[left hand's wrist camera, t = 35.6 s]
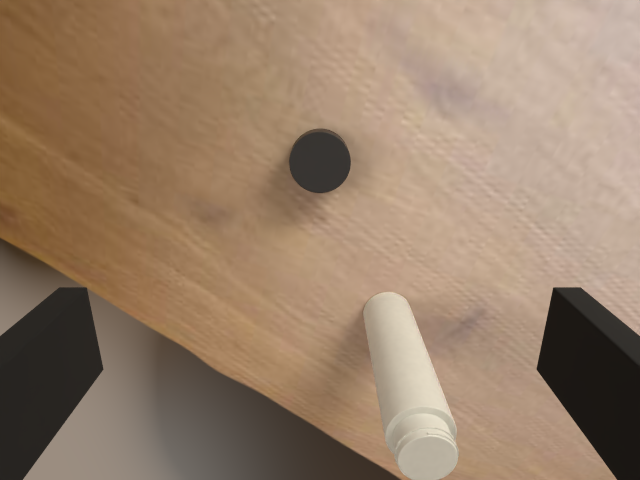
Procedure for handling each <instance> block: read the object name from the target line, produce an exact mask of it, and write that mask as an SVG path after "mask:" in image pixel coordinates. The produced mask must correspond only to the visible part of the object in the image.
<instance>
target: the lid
mask: <svg viewBox="0 0 640 480" xmlns="http://www.w3.org/2000/svg"><path fill="white" fill-rule="evenodd" d="M350 164H351V161H350V155H349V151H348V149H347V146H346V144H345V142H344V141H343V140H342V138H341V137H340V136H338V135H337V134H336V133H334V132H332V131H330V130H326V129H314V130H310V131H308V132H306V133H304V134H303V135H301V136H300V137H299V138H298V139H297V141H296V142H295V144H294V146H293V148H292V151H291V154H290V160H289V165H290V171H291V174H292V176H293V178H294V179H295V181H296V182H297V183H298V184H299V185H300V186H301V187H303V188H304V189H306V190H308V191H311V192H315V193H325V192H329V191H332V190H334V189H336V188H337V187H339V186H340V185H341V184H342V183H343V182H344V181H345V179H346V178H347V176H348V173H349V170H350Z"/></svg>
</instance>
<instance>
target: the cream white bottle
mask: <svg viewBox="0 0 640 480" xmlns="http://www.w3.org/2000/svg"><path fill="white" fill-rule="evenodd" d="M363 317H364V323H365V329H366V334H367V340H368V345H369V351H370V357H371V362H372V368H373V373H374V379H375V385H376V390H377V396H378V402H379V407H380V413H381V418H382V424H383V430H384V435H385V441H386V444H387V446H388V448H389V449H390V451H391V452H392V453H393V454H394V456H395V461H396V463H397V465H398V467H399V469H400V470H401V472H402V473H403V474H404V475H405V476H406V477H408V478H410V479H412V480H439V479H441V478H443V477H445V476H447V475H448V474H449V473H450V472H451V471H452V470H453V469H454V468H455V466H456V464H457V460H458V456H459V453H458V448H457V445H456V442H455V439H456V434H457V429H456V425H455V422H454V420H453V417H452V415H451V412H450V409H449V407H448V404H447V402H446V399H445V396H444V394H443V391H442V389H441V386H440V383H439V381H438V378H437V376H436V373H435V370H434V368H433V365H432V363H431V360H430V357H429V355H428V352H427V350H426V347H425V344H424V342H423V339H422V337H421V334H420V331H419V329H418V326H417V324H416V321H415V319H414V316H413V313H412V311H411V308H410V306H409V303H408V302H407V300H406V299H405V298H404V297H403V296H401V295H399V294H397V293H394V292H383V293H379V294H377V295H375V296H373V297H372V298H370V299H369V301H368V302H367V303H366V305H365V307H364V311H363Z"/></svg>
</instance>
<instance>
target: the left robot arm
mask: <svg viewBox="0 0 640 480" xmlns="http://www.w3.org/2000/svg"><path fill="white" fill-rule="evenodd" d="M102 370H103V365H102V360H101V355H100V351H99V346H98V341H97V336H96V331H95V326H94V321H93V316H92V311H91V307H90V302H89V297H88V292H87V288H58V289H57V290H56V291H55V292H53V293H52V294H51V295H50V296H49V297H47V298H46V299H45V300H44V301H42V302H41V303H40V304H39V305H38V306H36V307H35V308H34V309H33V310H31V311H30V312H29V313H28V314H27V315H25V316H24V317H23V318H22V319H21V320H19V321H18V322H17V323H16V324H15V325H13V326H12V327H11V328H10V329H8V330H7V331H6V332H5V333H4V334H2V335H1V336H0V480H23V479H24V477H25V476H26V474H27V473H28V472H29V470H30V469H31V468H32V466H33V465H34V463H35V462H36V461H37V459H38V458H39V457H40V455H41V454H42V453H43V451H44V450H45V448H46V447H47V446H48V444H49V443H50V442H51V440H52V439H53V437H54V436H55V435H56V433H57V432H58V431H59V429H60V428H61V427H62V425H63V424H64V423H65V421H66V420H67V418H68V417H69V416H70V414H71V413H72V412H73V410H74V409H75V407H76V406H77V405H78V403H79V402H80V401H81V399H82V398H83V396H84V395H85V394H86V392H87V391H88V390H89V388H90V387H91V386H92V384H93V383H94V381H95V380H96V379H97V377H98V376H99V375H100V373H101V372H102ZM537 371H538V372H539V373H540V375H541V376H542V377H543V379H544V380H545V381H546V383H547V384H548V386H549V387H550V388H551V390H552V391H553V392H554V394H555V395H556V397H557V398H558V399H559V401H560V402H561V403H562V405H563V406H564V407H565V409H566V410H567V412H568V413H569V414H570V416H571V417H572V418H573V420H574V421H575V423H576V424H577V425H578V427H579V428H580V429H581V431H582V432H583V433H584V435H585V436H586V438H587V439H588V440H589V442H590V443H591V444H592V446H593V447H594V448H595V450H596V451H597V453H598V454H599V455H600V457H601V458H602V459H603V461H604V462H605V464H606V465H607V466H608V468H609V469H610V470H611V472H612V473H613V474H614V476H615V477H616V479H617V480H640V336H639V335H638V334H636V333H635V332H634V331H633V330H632V329H630V328H629V327H628V326H627V325H626V324H624V323H623V322H622V321H621V320H619V319H618V318H617V317H616V316H615V315H613V314H612V313H611V312H610V311H609V310H607V309H606V308H605V307H604V306H602V305H601V304H600V303H599V302H598V301H596V300H595V299H594V298H593V297H591V296H590V295H589V294H588V293H587V292H585V291H584V290H583V289H582V288H553V292H552V297H551V302H550V306H549V311H548V316H547V321H546V326H545V331H544V336H543V341H542V346H541V351H540V355H539V360H538V365H537Z"/></svg>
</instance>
